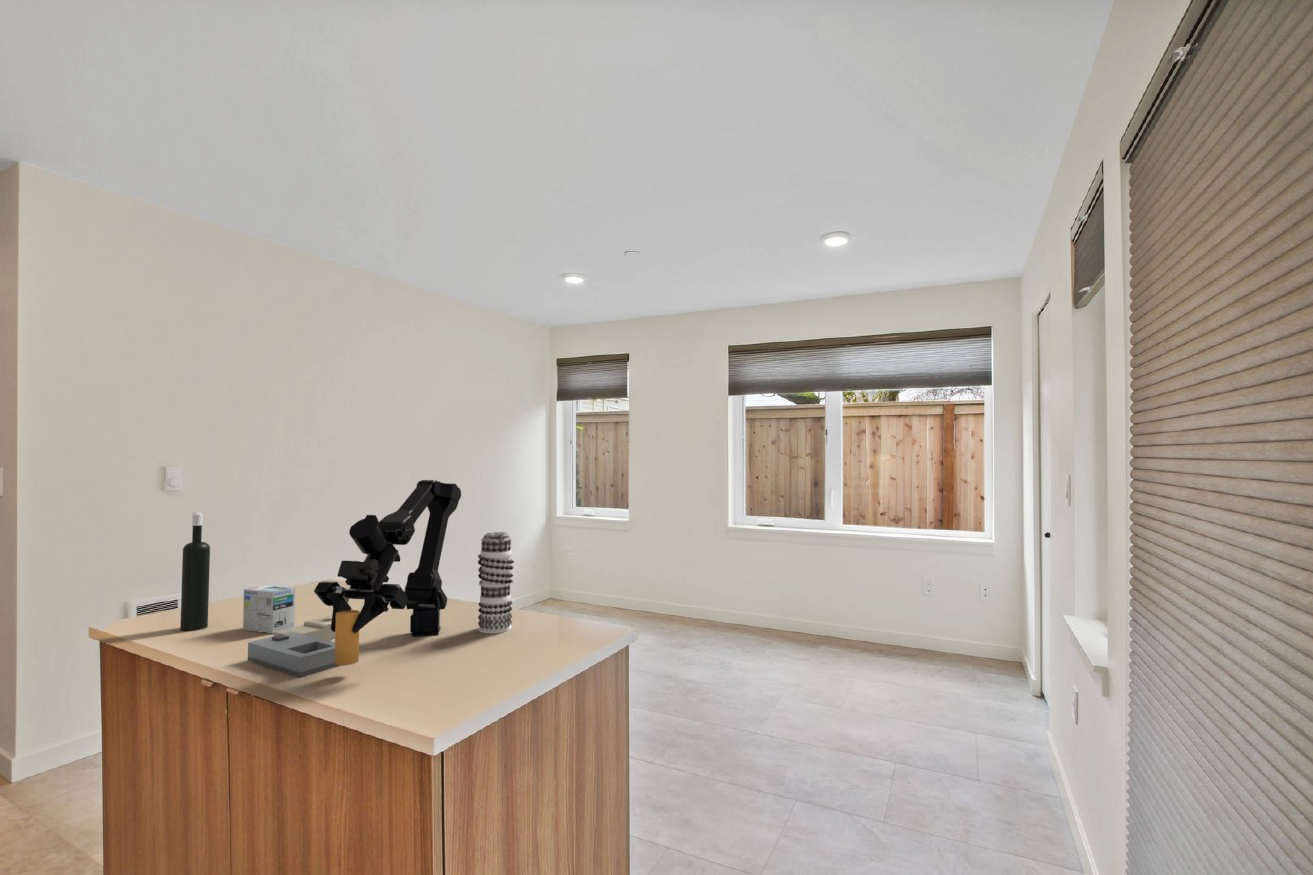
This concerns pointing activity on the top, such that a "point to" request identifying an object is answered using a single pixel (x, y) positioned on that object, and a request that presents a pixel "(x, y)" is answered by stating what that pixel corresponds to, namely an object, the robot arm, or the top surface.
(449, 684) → the top surface
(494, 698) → the top surface
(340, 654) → the orange cylinder
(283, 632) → the electrical outlet
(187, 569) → the wine bottle
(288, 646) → the grey block with pocket
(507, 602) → the decorative candle
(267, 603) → the light bulb box
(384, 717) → the top surface
